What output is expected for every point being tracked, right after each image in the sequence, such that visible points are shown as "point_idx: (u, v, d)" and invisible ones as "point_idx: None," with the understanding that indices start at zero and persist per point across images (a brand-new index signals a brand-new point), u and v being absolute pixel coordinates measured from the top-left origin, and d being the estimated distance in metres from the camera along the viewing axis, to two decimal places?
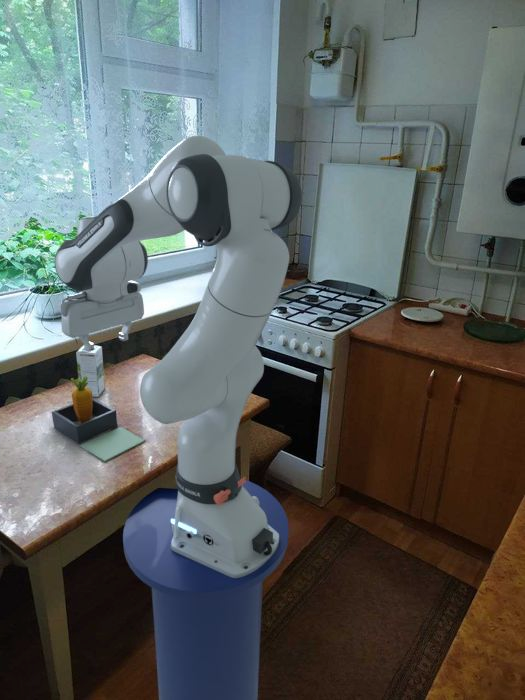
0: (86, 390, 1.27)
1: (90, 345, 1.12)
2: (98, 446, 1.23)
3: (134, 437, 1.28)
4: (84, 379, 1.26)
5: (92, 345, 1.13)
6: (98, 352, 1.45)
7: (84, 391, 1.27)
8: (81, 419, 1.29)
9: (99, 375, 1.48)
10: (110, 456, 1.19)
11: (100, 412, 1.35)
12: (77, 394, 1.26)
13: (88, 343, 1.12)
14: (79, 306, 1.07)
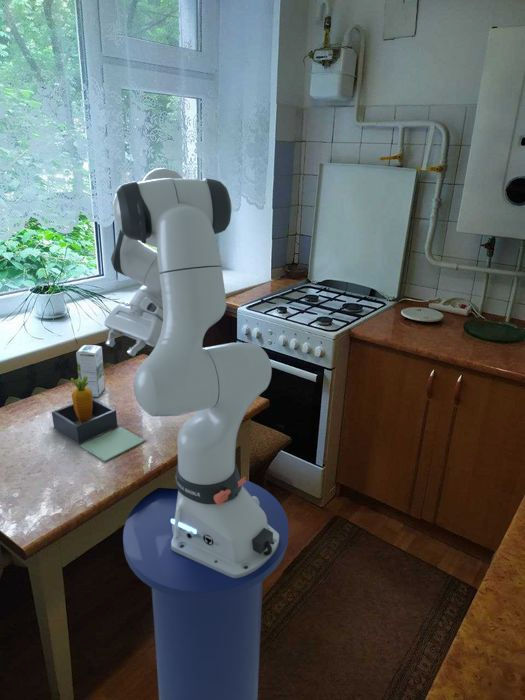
0: (86, 390, 1.27)
1: (109, 339, 1.37)
2: (98, 446, 1.23)
3: (134, 437, 1.28)
4: (84, 379, 1.26)
5: (109, 340, 1.36)
6: (98, 352, 1.45)
7: (84, 391, 1.27)
8: (81, 419, 1.29)
9: (99, 375, 1.48)
10: (110, 456, 1.19)
11: (100, 412, 1.35)
12: (77, 394, 1.26)
13: (109, 336, 1.37)
14: (121, 306, 1.40)
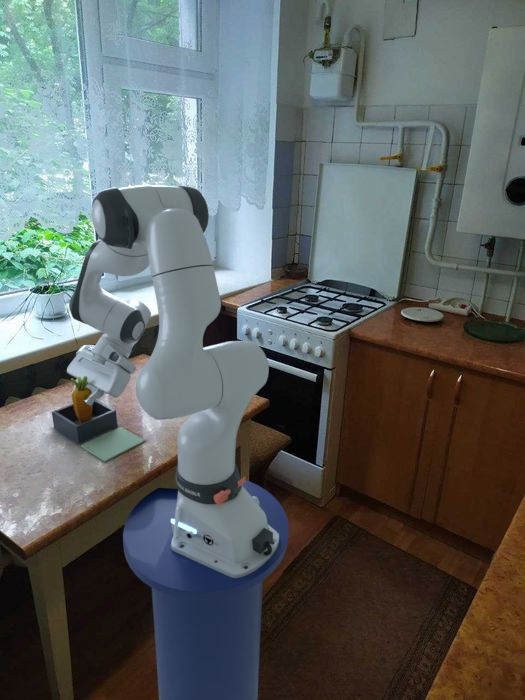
0: (86, 390, 1.27)
1: (74, 389, 1.30)
2: (98, 446, 1.23)
3: (134, 437, 1.28)
4: (84, 379, 1.26)
5: None
6: None
7: (84, 391, 1.27)
8: (81, 419, 1.29)
9: None
10: (110, 456, 1.19)
11: (100, 412, 1.35)
12: (77, 394, 1.26)
13: (74, 387, 1.30)
14: (84, 352, 1.34)
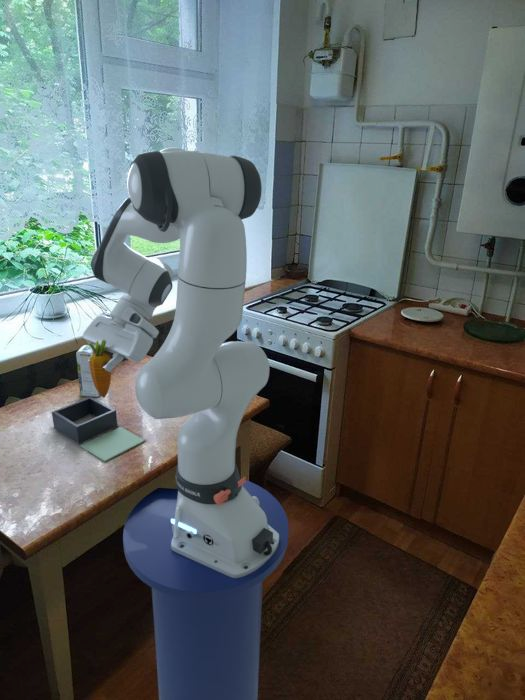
0: (105, 355, 1.17)
1: None
2: (98, 446, 1.23)
3: (134, 437, 1.28)
4: (102, 343, 1.16)
5: None
6: None
7: (102, 356, 1.17)
8: (99, 387, 1.19)
9: None
10: (110, 456, 1.19)
11: (100, 412, 1.35)
12: (95, 360, 1.16)
13: (91, 353, 1.20)
14: (101, 317, 1.24)
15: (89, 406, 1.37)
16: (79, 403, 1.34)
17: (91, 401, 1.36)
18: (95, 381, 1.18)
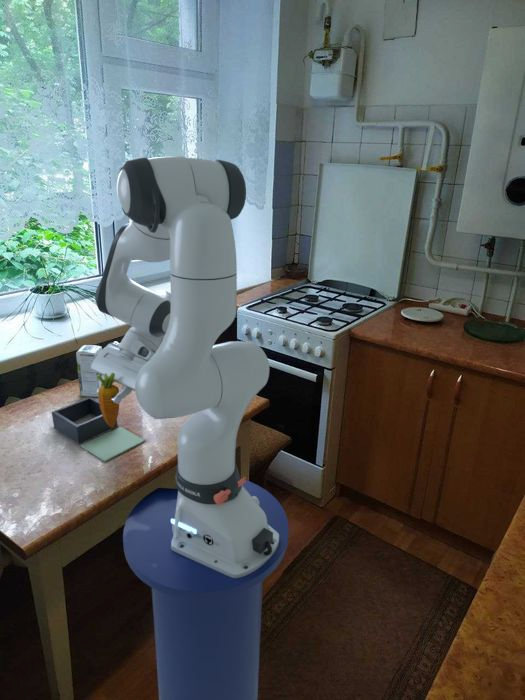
0: (113, 388, 1.19)
1: None
2: (98, 446, 1.23)
3: (134, 437, 1.28)
4: (111, 376, 1.18)
5: None
6: (98, 352, 1.45)
7: (111, 389, 1.18)
8: (107, 419, 1.21)
9: None
10: (110, 456, 1.19)
11: (100, 412, 1.35)
12: (104, 392, 1.17)
13: (100, 384, 1.22)
14: (109, 347, 1.25)
15: (89, 406, 1.37)
16: (79, 403, 1.34)
17: (91, 401, 1.36)
18: (104, 412, 1.20)
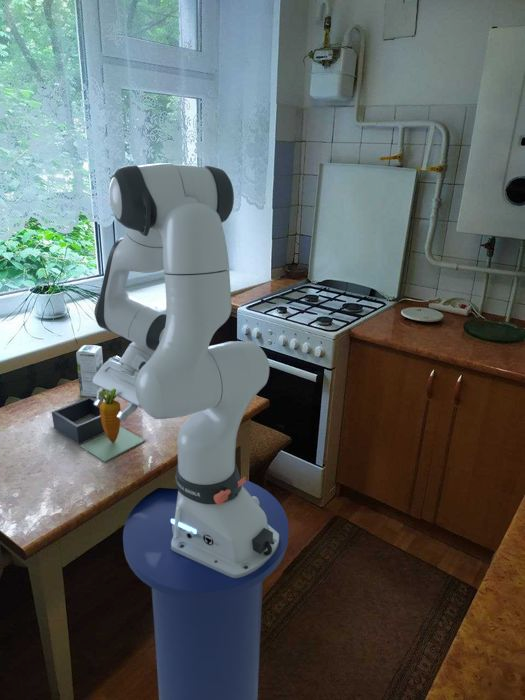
0: (114, 403, 1.21)
1: (97, 399, 1.24)
2: (98, 446, 1.23)
3: (134, 437, 1.28)
4: (113, 392, 1.20)
5: (98, 400, 1.23)
6: (98, 352, 1.45)
7: (112, 404, 1.20)
8: (109, 434, 1.22)
9: None
10: (110, 456, 1.19)
11: None
12: (105, 408, 1.19)
13: (97, 396, 1.24)
14: (111, 362, 1.27)
15: (89, 406, 1.37)
16: (79, 403, 1.34)
17: (91, 401, 1.36)
18: (105, 428, 1.22)
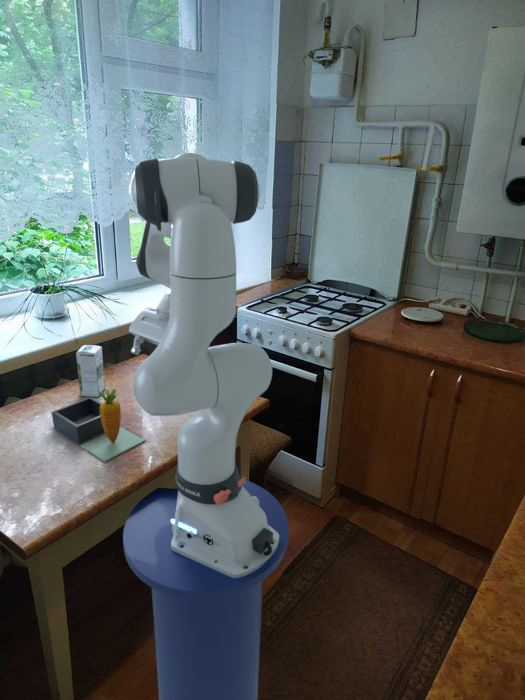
0: (114, 403, 1.21)
1: (134, 346, 1.29)
2: (98, 446, 1.23)
3: (134, 437, 1.28)
4: (113, 392, 1.20)
5: (135, 347, 1.28)
6: (98, 352, 1.45)
7: (112, 404, 1.20)
8: (109, 434, 1.22)
9: (99, 375, 1.48)
10: (110, 456, 1.19)
11: None
12: (105, 408, 1.19)
13: (134, 343, 1.29)
14: (146, 311, 1.32)
15: (89, 406, 1.37)
16: (79, 403, 1.34)
17: (91, 401, 1.36)
18: (105, 428, 1.22)
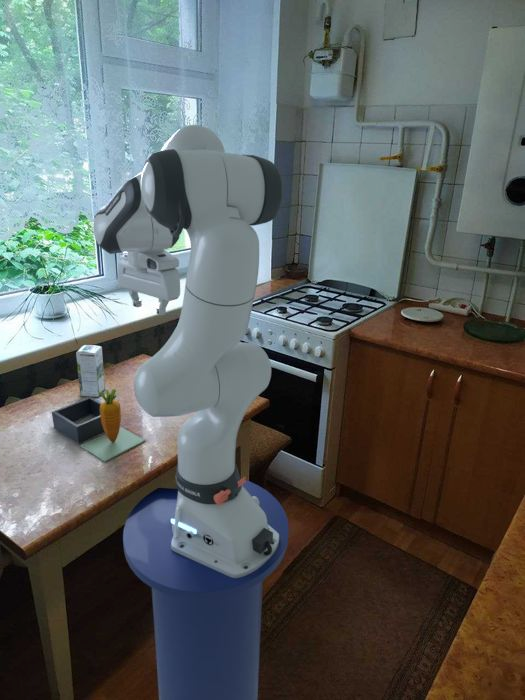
0: (114, 403, 1.21)
1: (133, 301, 1.28)
2: (98, 446, 1.23)
3: (134, 437, 1.28)
4: (113, 392, 1.20)
5: (135, 302, 1.28)
6: (98, 352, 1.45)
7: (112, 404, 1.20)
8: (109, 434, 1.22)
9: (99, 375, 1.48)
10: (110, 456, 1.19)
11: None
12: (105, 408, 1.19)
13: (132, 298, 1.28)
14: (122, 262, 1.25)
15: (89, 406, 1.37)
16: (79, 403, 1.34)
17: (91, 401, 1.36)
18: (105, 428, 1.22)
